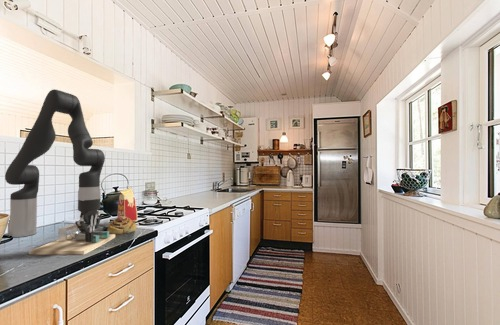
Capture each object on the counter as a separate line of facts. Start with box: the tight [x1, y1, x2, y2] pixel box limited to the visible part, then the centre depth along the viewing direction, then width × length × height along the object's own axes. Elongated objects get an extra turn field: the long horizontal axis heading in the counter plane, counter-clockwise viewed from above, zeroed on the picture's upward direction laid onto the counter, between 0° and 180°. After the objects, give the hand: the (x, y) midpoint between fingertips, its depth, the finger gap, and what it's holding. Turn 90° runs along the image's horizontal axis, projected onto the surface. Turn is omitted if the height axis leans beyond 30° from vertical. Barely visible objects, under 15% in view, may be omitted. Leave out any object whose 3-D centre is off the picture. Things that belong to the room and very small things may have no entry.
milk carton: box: [116, 186, 138, 223], centre depth 141 cm, size 9×9×20 cm
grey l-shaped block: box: [57, 223, 79, 241], centre depth 103 cm, size 3×7×5 cm, turn 1°
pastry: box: [106, 216, 138, 236], centre depth 121 cm, size 13×15×8 cm
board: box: [28, 234, 116, 256], centre depth 99 cm, size 20×21×2 cm
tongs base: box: [72, 230, 109, 240], centre depth 103 cm, size 15×3×3 cm, turn 91°
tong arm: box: [74, 232, 99, 242], centre depth 100 cm, size 12×2×2 cm, turn 73°
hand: (89, 241), depth 96 cm, fingers closed
